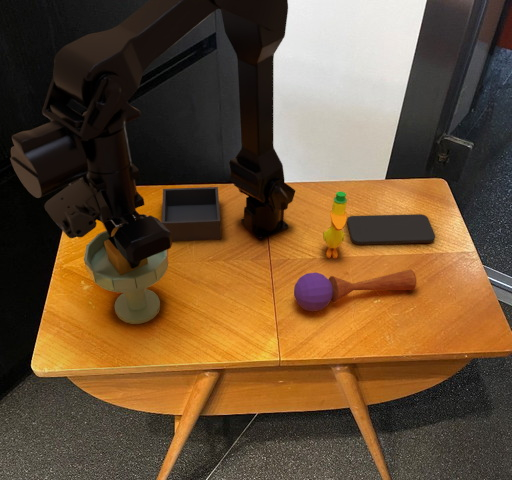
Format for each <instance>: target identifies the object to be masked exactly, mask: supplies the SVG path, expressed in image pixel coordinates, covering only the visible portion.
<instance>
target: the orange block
mask: <svg viewBox="0 0 512 480" xmlns="http://www.w3.org/2000/svg"><path fill="white" fill-rule="evenodd" d="M118 228H119V227H115V228H114V229H113V230H112V233H111V237H112V236H114V234H115V233H116V231H117V230H118ZM104 244H105V248H106V252H107V256H108V260H109V261H110V262H111V264H112V265H113V266H114V267H115V269H116V270H117V271H118V273H119V274H120V275H123V274H125V273H127V272H130V271H132V270H134V269H137V268H139V267H142V266H144V265H146V264H148V259H147V258H146V259H143V260H141V262H140V264H139V266H138V267H136V268H133V269H132V268H131V267H130V265H129V263H128V262H127V260H126V259H125V258H124V257H123V256H122V254H121V253H120V252H119V250H117V249H116V248H115V247H114V245H113V244H112V243H111V242H110V240H106V241H104Z"/></svg>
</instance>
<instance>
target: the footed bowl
mask: <svg viewBox="0 0 512 480" xmlns="http://www.w3.org/2000/svg"><path fill="white" fill-rule="evenodd" d="M108 238H109V235H108V233H107V231H106V230H103V231H101V232H100V233H98V234H96V235H95V236H94V237H93V238H92V239H91V240H90V241H89V242H88V243H87V244H86V245H85V252H84V256H83V261H84V265H85V269H86V271H87V273H88V275H89V277H90V278H91V281H93V282H94V284H96V285H97V286H98V287H100V288H101V289H103V290H106V291H109V292H112V293H121V294H120V295H118V297H117V298H116V300H115V302H114V312H115V315H116V316H117V317H118V319H119V320H121V321H122V322H124V323H126V324H132V325H140V324H144V323H148V322H150V321H151V320H153V319H155V317H156V316H158V314H159V313H160V310H161V300H160V298H159V296H158V294H156V293H155V292H154V291H153V290H151V289H148V288H150V287H152V286H154V285H155V284H157V283H158V282H160V281H161V280H162V279H163V277H164V276H165V275H166V273H167V271H168V268H169V263H170V261H169V249H167V250H165V251H163V252H160V253H158V254H155V255H153V256H150V257H148V258H147V259H148V264H146V265H144V266H142V267H139V268H137V269H134V270H132V271H130V272H127V273H125V274H123V275H120V274H119V273H118V271H117V270H116V269H115V267H114V266H113V265H112V264H111V262H110V261H109V260H108V256H107V252H106V248H105V244H104V241H106V240H109V239H108Z"/></svg>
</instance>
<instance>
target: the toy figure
mask: <svg viewBox="0 0 512 480" xmlns="http://www.w3.org/2000/svg"><path fill="white" fill-rule="evenodd" d="M346 197H347V193H346V192H344V191H337V192H336V193H335V196H334V197H333V201H332V207H331V210H330V211H329V213H330V214H329V215H330V227H328V228H327V229H326V231H324V230H323V234H322V237H323V238H322V239H323V242H325V243H326V244H327V246H328V248H327V250H326V253H325V256H326V258H327V259H331V257H332V258H333V259H337V257H338V255H339V254H338V251H337V248H338V247H339V246H341V245H342V243H343V242H344V241H345V237H346V236H345V235H346V233H345V232H344V231H343V229H345V226H346V225H347V219H348V216H347V215H348V214H347V211H346V208H347V204H348V203H347V202H348V199H347V198H346ZM331 249H332V250H331Z"/></svg>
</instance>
